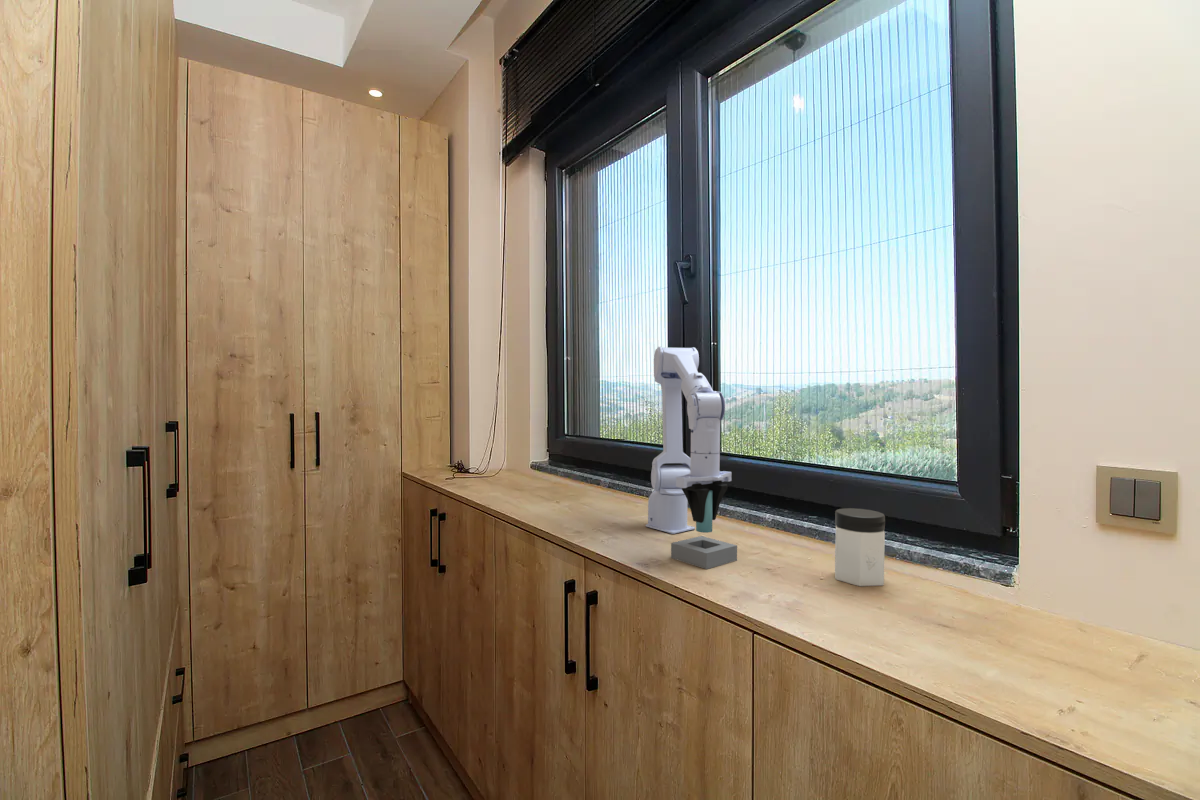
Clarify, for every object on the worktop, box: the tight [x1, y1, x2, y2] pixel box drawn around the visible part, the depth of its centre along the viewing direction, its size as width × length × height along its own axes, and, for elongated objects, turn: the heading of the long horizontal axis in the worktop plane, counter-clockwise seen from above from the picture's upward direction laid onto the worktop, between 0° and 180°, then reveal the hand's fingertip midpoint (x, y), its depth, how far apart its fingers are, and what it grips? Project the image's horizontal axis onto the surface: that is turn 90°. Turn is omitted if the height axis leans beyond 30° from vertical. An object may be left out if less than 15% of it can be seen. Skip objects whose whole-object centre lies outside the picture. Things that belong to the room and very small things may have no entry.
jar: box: [834, 507, 886, 587], centre depth 102 cm, size 9×8×12 cm
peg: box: [695, 490, 713, 534], centre depth 113 cm, size 3×3×8 cm
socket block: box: [670, 535, 738, 570], centre depth 113 cm, size 9×9×3 cm
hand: (704, 520), depth 113 cm, fingers closed on peg, 3 cm apart
